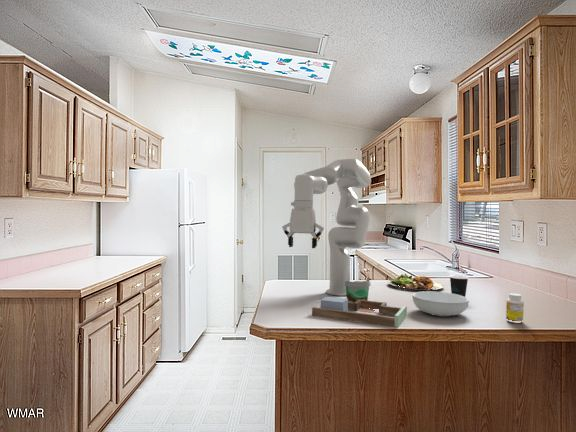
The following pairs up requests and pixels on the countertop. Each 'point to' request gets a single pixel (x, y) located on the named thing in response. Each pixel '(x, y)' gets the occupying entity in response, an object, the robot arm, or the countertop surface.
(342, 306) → the block
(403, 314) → the end wall
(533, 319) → the countertop surface
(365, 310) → the tile
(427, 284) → the plate of food
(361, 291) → the food container
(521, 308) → the supplement bottle
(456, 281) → the dixie cup
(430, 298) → the serving bowl
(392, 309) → the channel walls
